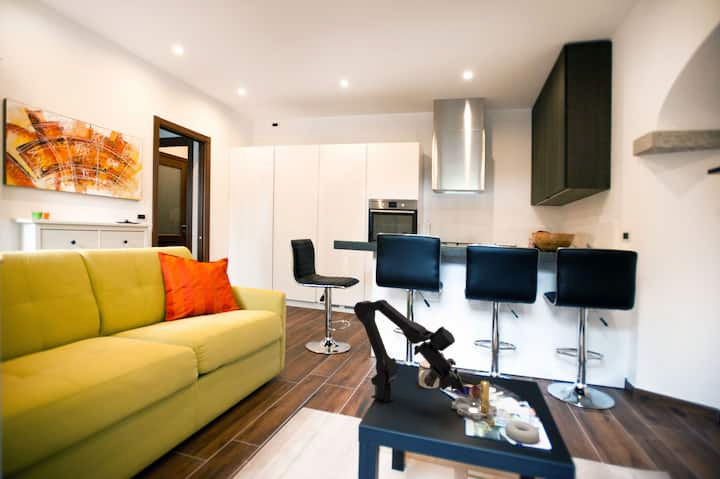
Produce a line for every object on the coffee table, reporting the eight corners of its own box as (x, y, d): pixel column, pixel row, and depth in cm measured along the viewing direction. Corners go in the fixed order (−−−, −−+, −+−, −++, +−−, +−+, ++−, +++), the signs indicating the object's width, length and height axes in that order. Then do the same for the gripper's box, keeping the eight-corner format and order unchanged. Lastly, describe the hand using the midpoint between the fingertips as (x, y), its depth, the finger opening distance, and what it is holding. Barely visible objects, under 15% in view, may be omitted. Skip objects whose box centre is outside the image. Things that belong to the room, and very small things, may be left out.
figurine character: (444, 394, 151) (477, 402, 140) (442, 375, 152) (475, 382, 141) (453, 390, 156) (485, 398, 145) (451, 372, 157) (484, 378, 146)
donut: (502, 438, 115) (536, 448, 110) (502, 427, 115) (536, 437, 110) (508, 426, 123) (541, 435, 118) (508, 416, 124) (541, 424, 118)
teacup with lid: (425, 379, 164) (426, 353, 164) (443, 385, 157) (444, 358, 158) (410, 386, 155) (410, 359, 155) (428, 392, 149) (429, 364, 149)
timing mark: (485, 422, 125) (485, 419, 125) (489, 421, 126) (489, 418, 126) (490, 425, 123) (490, 422, 123) (494, 424, 123) (494, 421, 123)
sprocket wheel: (453, 416, 126) (454, 382, 126) (450, 398, 141) (451, 367, 141) (500, 421, 123) (501, 386, 123) (492, 402, 138) (493, 371, 139)
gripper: (419, 362, 141) (446, 395, 138) (415, 380, 123) (446, 417, 120) (440, 344, 139) (469, 377, 136) (439, 359, 121) (472, 397, 118)
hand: (464, 392), depth 128 cm, fingers closed
